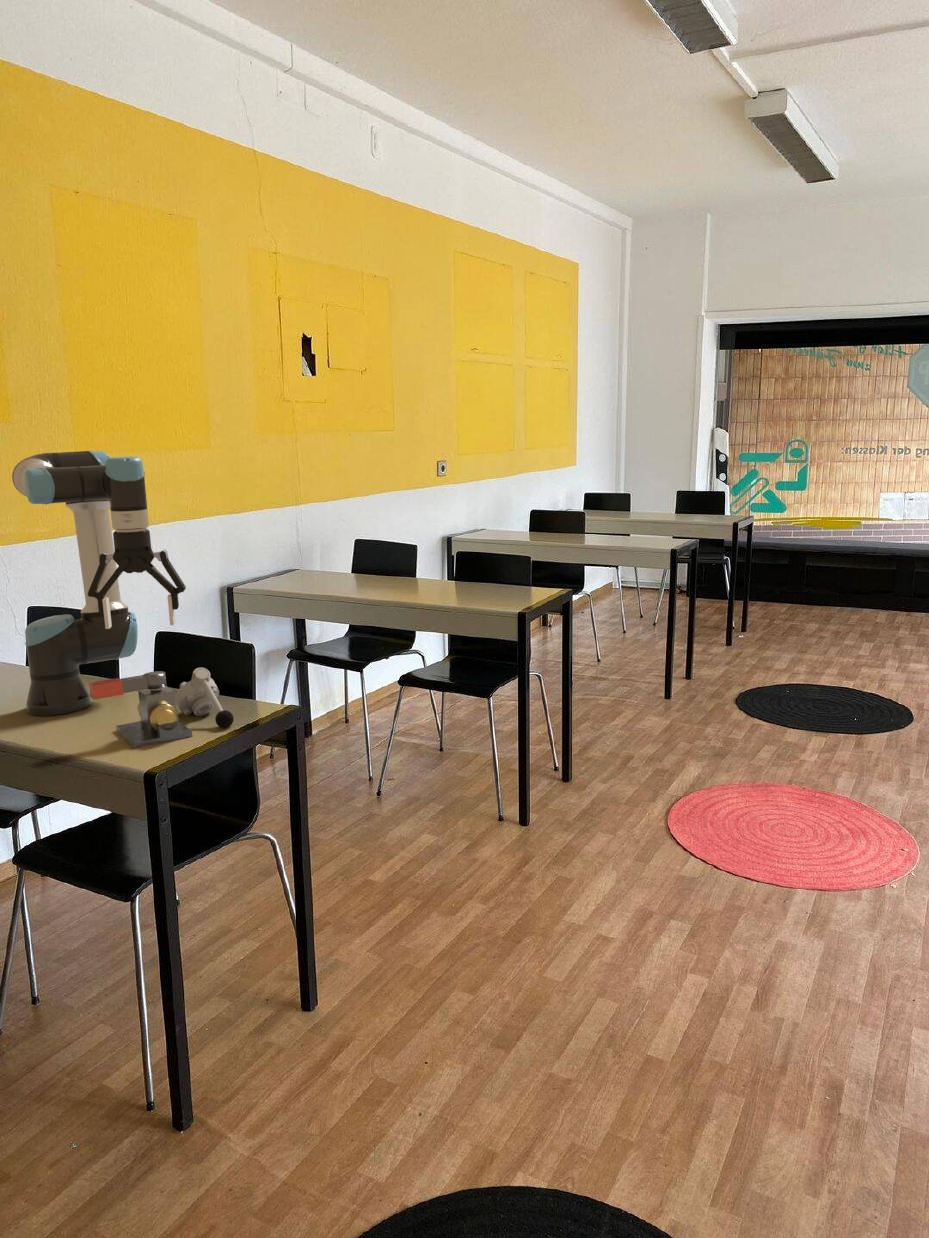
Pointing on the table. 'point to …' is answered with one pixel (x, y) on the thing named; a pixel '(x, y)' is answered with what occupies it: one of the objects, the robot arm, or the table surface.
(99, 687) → the lever
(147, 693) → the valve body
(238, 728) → the table surface
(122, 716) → the table surface
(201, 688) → the mechanical valve
